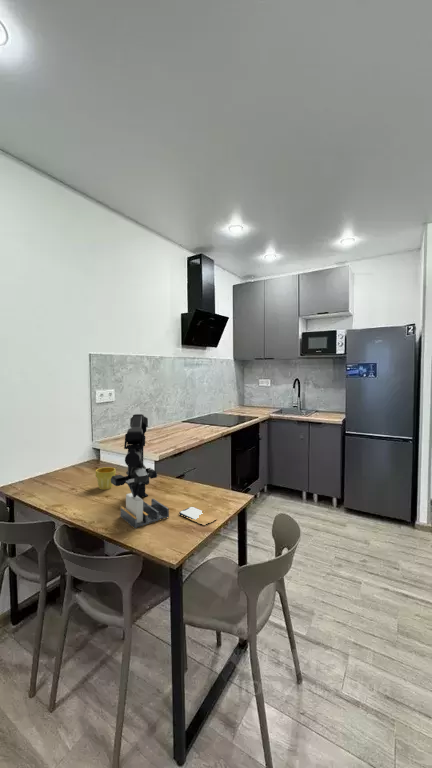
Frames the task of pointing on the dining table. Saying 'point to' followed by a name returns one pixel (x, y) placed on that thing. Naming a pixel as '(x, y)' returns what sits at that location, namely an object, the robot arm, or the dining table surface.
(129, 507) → the panel
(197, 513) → the phone case
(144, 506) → the rack
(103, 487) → the plant pot
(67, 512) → the dining table surface
